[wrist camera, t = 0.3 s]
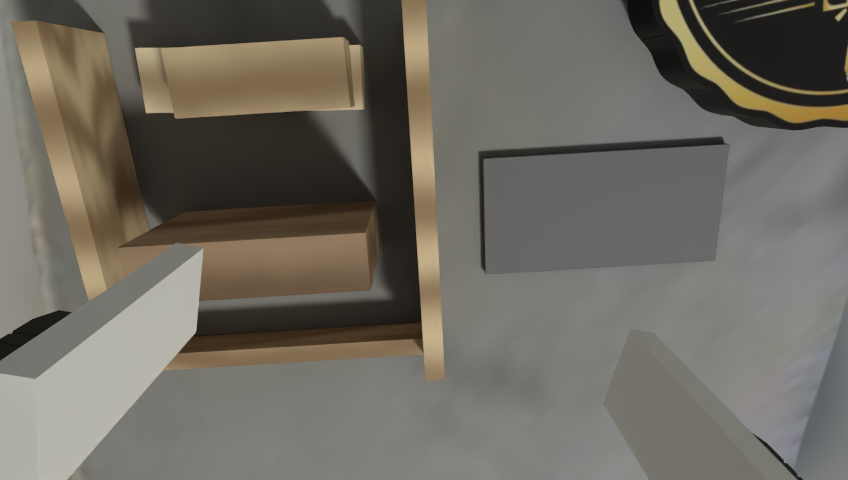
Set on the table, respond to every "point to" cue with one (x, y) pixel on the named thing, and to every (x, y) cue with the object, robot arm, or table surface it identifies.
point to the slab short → (259, 77)
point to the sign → (753, 57)
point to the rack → (125, 216)
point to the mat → (602, 208)
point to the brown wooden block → (271, 248)
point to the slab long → (159, 92)
